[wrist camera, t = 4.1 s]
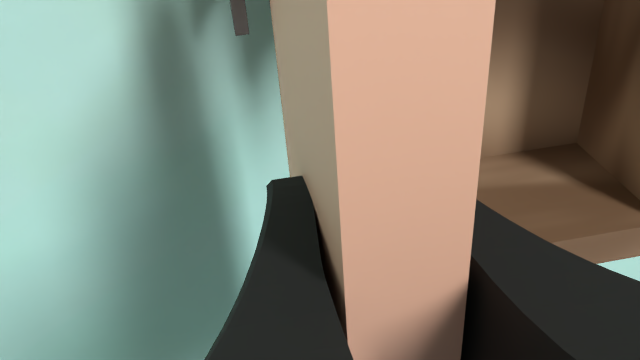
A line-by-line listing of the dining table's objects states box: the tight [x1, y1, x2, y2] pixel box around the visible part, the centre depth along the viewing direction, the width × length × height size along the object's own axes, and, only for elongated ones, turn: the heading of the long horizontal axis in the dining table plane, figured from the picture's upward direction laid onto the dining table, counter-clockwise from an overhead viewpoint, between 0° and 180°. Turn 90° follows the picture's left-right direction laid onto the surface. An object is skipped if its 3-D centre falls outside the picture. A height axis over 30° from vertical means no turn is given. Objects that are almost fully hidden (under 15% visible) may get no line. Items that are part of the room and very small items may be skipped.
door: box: [270, 0, 496, 360], centre depth 11 cm, size 11×2×7 cm, turn 4°
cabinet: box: [230, 0, 640, 264], centre depth 17 cm, size 13×13×6 cm
